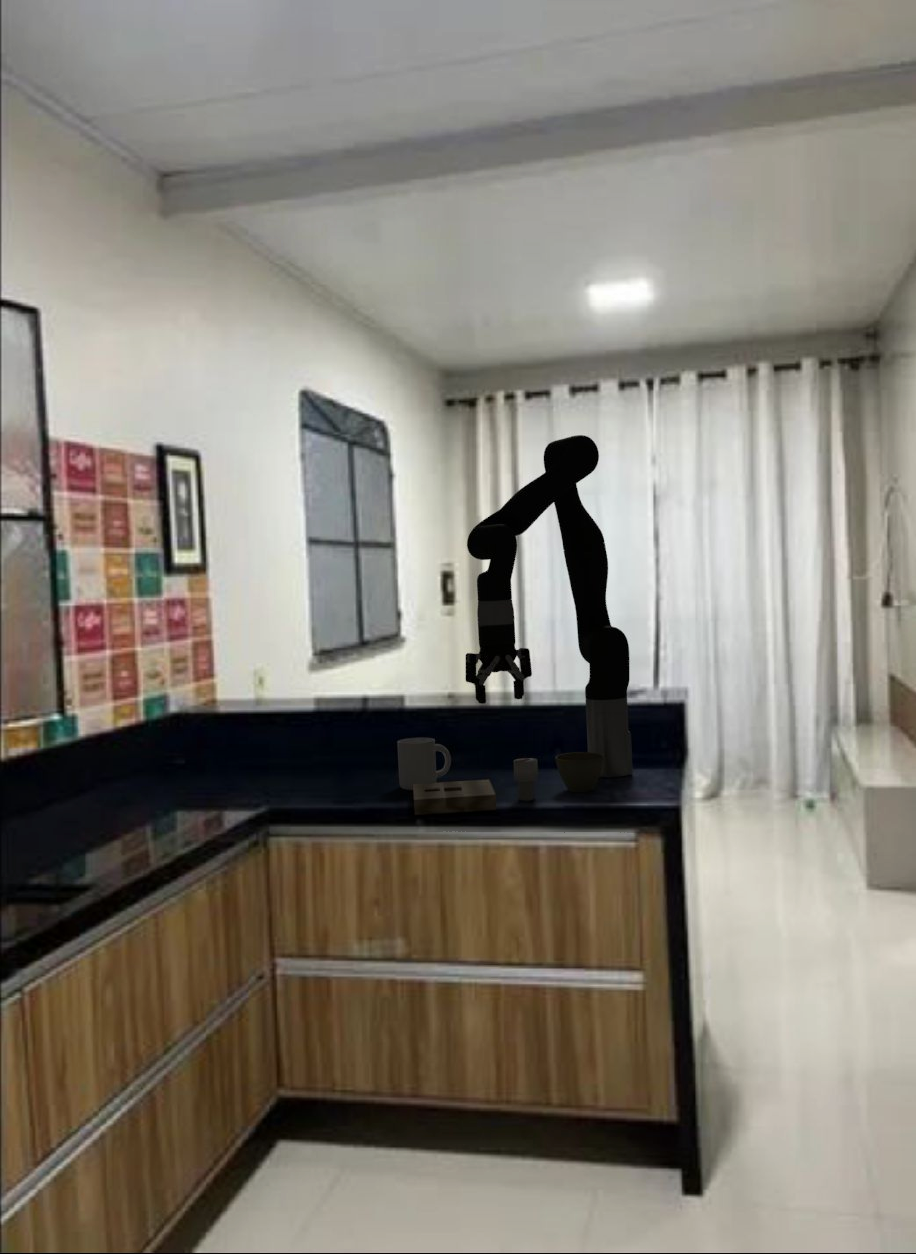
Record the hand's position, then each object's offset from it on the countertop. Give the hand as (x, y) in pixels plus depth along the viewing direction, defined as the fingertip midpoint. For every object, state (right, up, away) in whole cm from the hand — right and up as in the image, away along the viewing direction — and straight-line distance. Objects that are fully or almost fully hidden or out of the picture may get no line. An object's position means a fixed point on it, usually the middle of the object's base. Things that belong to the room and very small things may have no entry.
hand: (500, 701), depth 225 cm
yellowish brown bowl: (+17, -19, +4) cm, 26 cm away
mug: (-16, -20, +17) cm, 31 cm away
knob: (+5, -20, -3) cm, 21 cm away
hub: (-10, -21, -3) cm, 23 cm away
